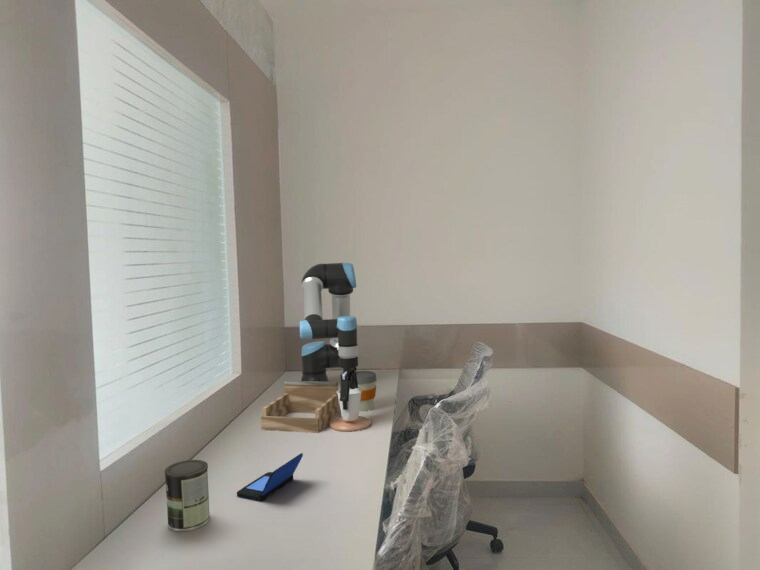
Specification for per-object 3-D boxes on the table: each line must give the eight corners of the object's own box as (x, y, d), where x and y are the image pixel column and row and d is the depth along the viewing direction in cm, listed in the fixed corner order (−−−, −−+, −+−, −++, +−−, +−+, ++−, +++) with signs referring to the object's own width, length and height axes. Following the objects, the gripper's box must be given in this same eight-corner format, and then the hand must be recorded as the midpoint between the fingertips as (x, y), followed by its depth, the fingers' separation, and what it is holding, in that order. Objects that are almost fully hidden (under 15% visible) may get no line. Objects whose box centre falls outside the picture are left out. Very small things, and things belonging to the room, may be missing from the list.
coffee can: (162, 533, 132) (158, 477, 131) (174, 513, 142) (171, 460, 142) (205, 530, 133) (202, 474, 132) (214, 510, 143) (211, 458, 142)
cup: (364, 415, 215) (363, 387, 215) (361, 422, 206) (360, 394, 205) (339, 414, 216) (338, 387, 216) (335, 422, 207) (334, 394, 206)
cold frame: (287, 410, 233) (286, 380, 232) (338, 412, 228) (337, 382, 227) (261, 429, 208) (259, 396, 208) (318, 432, 203) (316, 398, 202)
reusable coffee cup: (372, 403, 241) (371, 369, 240) (381, 410, 229) (380, 375, 228) (344, 406, 237) (343, 372, 236) (352, 414, 225) (351, 378, 224)
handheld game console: (268, 475, 165) (267, 446, 165) (305, 482, 160) (304, 451, 159) (234, 497, 151) (232, 465, 151) (274, 505, 146) (272, 472, 145)
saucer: (337, 417, 221) (337, 414, 221) (375, 419, 217) (375, 416, 217) (324, 430, 205) (324, 427, 205) (365, 432, 201) (365, 429, 201)
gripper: (347, 351, 221) (348, 405, 222) (329, 362, 200) (331, 422, 201) (364, 351, 219) (366, 405, 221) (349, 362, 198) (351, 422, 199)
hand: (350, 413), depth 211 cm, fingers closed on cup, 9 cm apart
